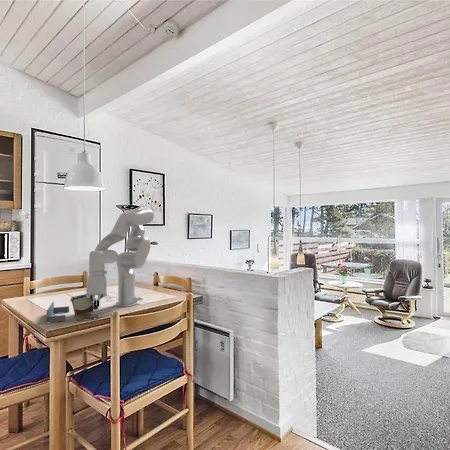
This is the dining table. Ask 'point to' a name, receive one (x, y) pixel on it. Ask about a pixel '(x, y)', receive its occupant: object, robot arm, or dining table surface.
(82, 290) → the dining table surface
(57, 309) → the slate stop bracket
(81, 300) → the food container
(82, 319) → the walnut sleeve
